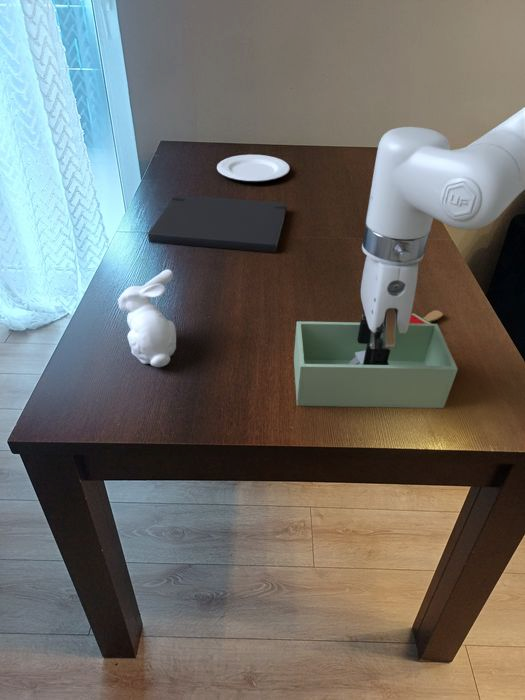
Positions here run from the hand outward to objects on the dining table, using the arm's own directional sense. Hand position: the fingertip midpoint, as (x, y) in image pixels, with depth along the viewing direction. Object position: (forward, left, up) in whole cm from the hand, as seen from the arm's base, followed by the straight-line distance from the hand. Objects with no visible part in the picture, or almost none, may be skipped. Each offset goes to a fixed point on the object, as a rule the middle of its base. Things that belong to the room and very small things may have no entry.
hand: (371, 353), depth 71 cm
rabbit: (+19, +29, -6) cm, 35 cm away
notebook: (+58, +6, -6) cm, 58 cm away
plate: (+88, -12, -6) cm, 89 cm away
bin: (0, 0, -6) cm, 6 cm away
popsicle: (+9, -14, -6) cm, 18 cm away
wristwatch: (0, 0, -5) cm, 5 cm away
